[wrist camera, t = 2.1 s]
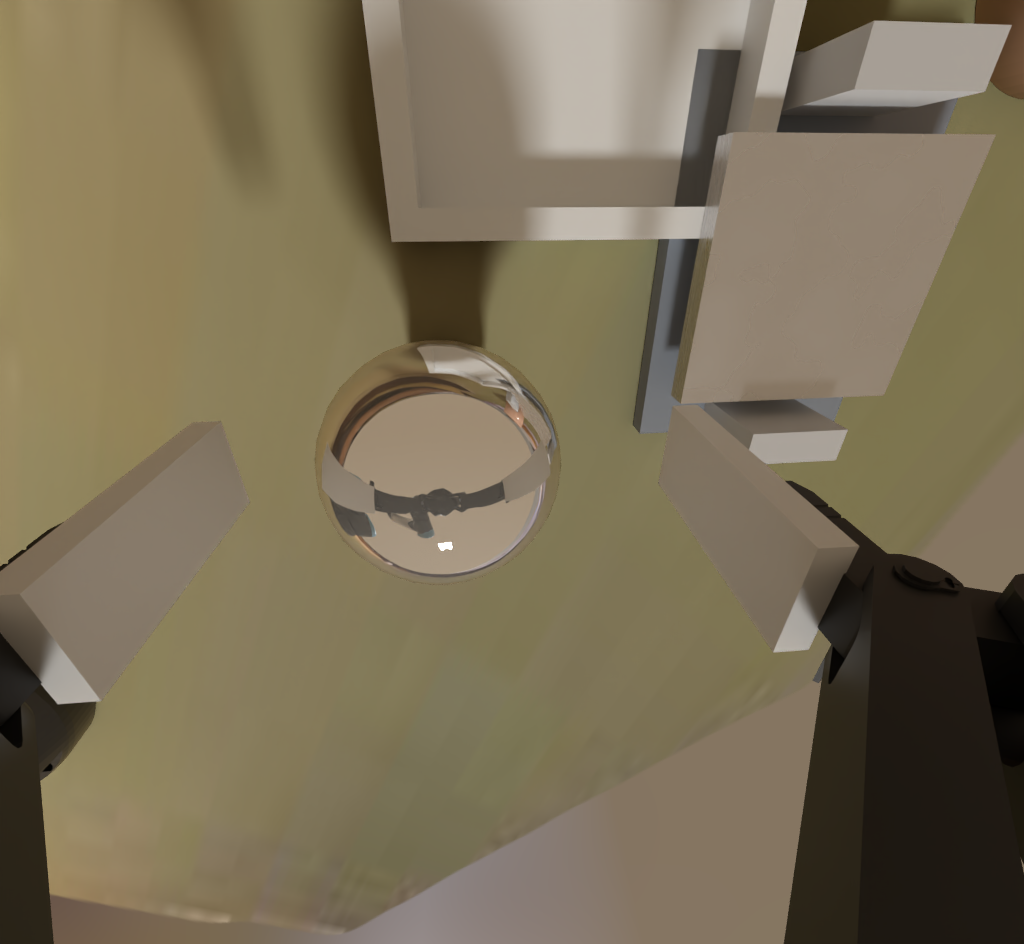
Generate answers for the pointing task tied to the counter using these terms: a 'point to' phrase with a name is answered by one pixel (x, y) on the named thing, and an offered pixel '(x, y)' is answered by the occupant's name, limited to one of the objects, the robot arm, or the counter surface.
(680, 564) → the counter surface
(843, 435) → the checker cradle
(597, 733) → the counter surface
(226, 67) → the counter surface
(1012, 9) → the peach rounded pebble
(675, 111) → the tray
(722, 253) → the plate
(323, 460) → the light bulb
